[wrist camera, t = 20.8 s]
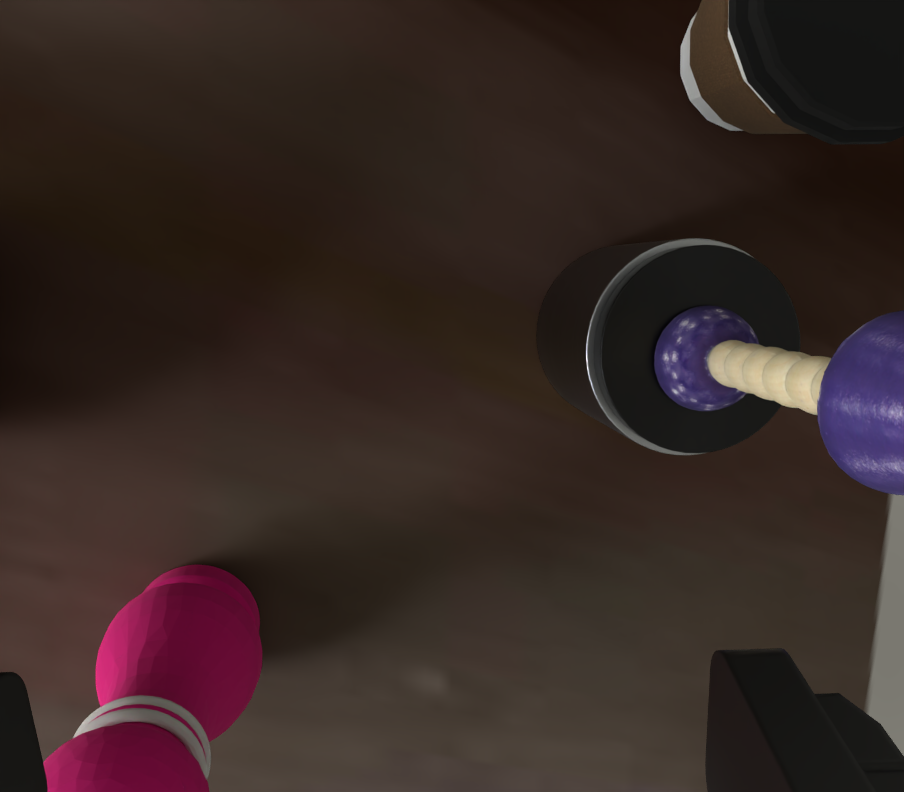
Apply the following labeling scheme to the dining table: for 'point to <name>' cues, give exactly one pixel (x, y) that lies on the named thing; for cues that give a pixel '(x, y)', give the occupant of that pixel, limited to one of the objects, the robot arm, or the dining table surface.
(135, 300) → the dining table surface
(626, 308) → the grey metal canister
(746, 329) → the toy lamp
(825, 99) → the coffee cup
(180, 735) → the pepper mill
